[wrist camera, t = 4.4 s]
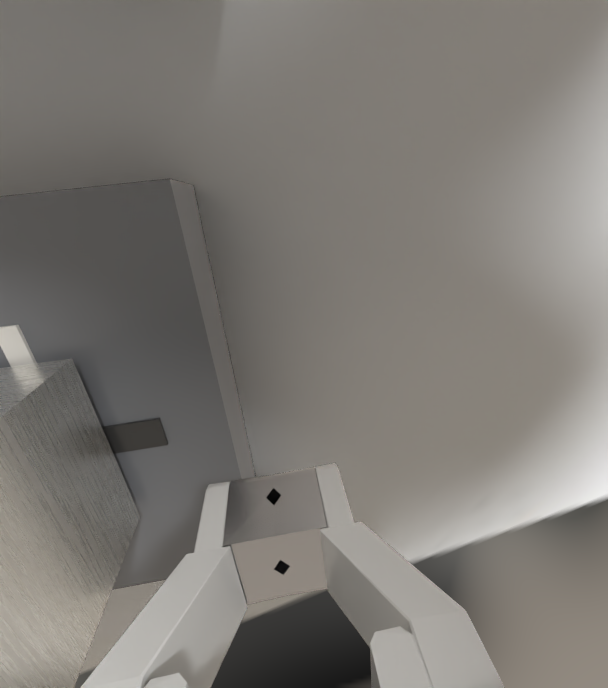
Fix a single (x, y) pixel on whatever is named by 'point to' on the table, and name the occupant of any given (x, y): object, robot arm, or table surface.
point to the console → (131, 344)
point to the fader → (55, 524)
